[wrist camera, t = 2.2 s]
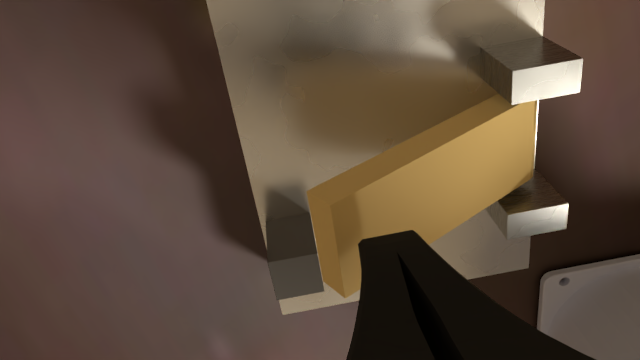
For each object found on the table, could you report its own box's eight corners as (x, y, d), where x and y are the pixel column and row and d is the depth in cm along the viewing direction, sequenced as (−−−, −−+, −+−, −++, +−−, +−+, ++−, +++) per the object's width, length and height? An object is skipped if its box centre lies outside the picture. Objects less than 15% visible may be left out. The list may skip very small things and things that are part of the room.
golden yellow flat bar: (517, 84, 18) (544, 90, 17) (514, 164, 19) (539, 173, 18) (306, 191, 14) (329, 205, 13) (323, 281, 15) (345, 298, 15)
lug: (310, 212, 19) (317, 253, 17) (316, 248, 20) (324, 291, 18) (265, 220, 19) (267, 262, 17) (273, 256, 20) (276, 300, 18)
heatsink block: (506, -95, 18) (597, -85, 13) (498, 226, 24) (558, 309, 20) (206, -44, 18) (190, -14, 13) (278, 267, 24) (286, 361, 19)
